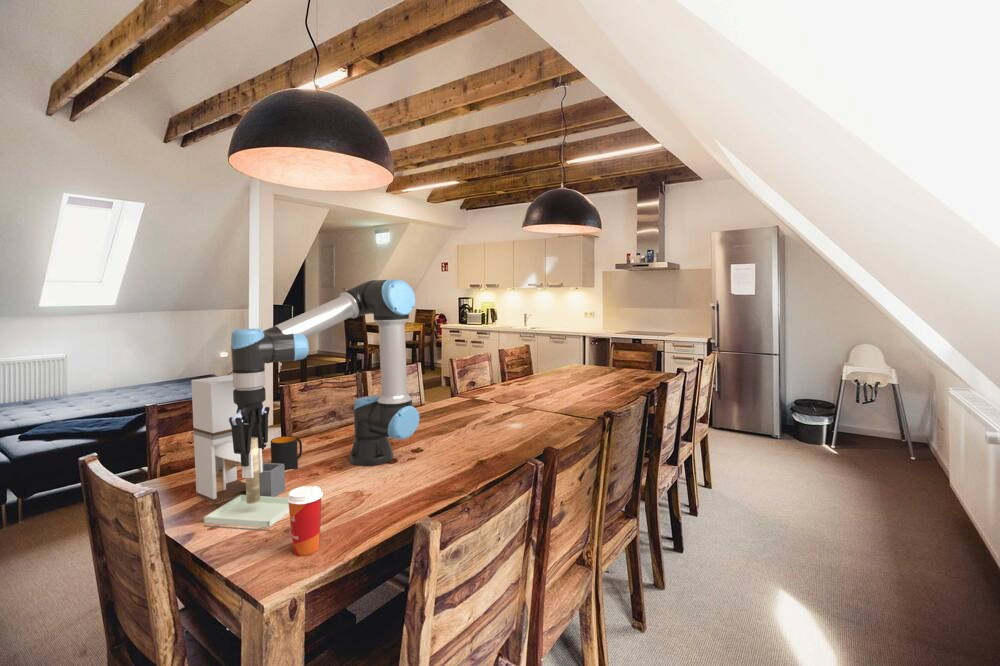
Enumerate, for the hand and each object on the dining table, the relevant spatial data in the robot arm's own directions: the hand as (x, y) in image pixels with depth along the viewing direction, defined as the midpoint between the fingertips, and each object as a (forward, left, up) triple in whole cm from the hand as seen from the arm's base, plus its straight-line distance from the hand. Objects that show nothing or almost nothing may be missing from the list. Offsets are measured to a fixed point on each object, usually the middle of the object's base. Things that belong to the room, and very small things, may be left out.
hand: (252, 474), depth 126 cm
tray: (0, 0, -12) cm, 12 cm away
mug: (+12, -36, -12) cm, 40 cm away
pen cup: (+4, -12, -12) cm, 17 cm away
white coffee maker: (+17, -11, -12) cm, 23 cm away
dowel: (0, 0, -7) cm, 7 cm away
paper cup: (-23, +14, -12) cm, 29 cm away
